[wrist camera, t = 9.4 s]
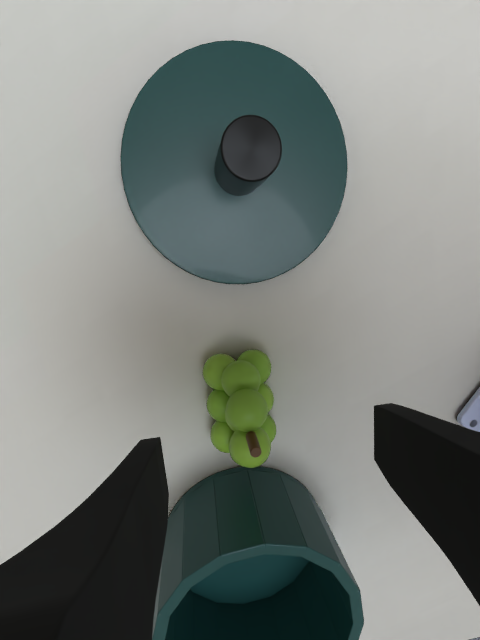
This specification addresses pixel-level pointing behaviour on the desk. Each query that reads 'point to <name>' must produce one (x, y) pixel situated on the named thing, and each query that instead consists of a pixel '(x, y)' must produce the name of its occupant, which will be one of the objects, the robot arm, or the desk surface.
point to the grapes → (241, 406)
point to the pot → (253, 564)
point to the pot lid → (234, 162)
